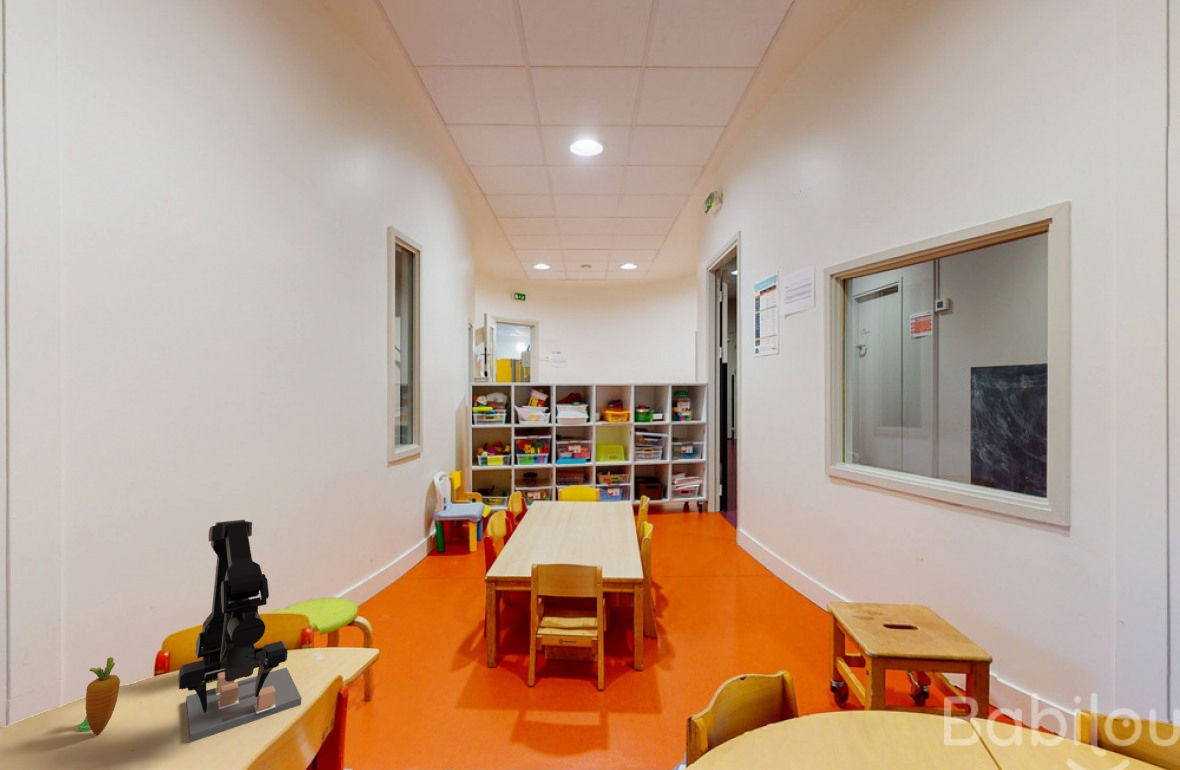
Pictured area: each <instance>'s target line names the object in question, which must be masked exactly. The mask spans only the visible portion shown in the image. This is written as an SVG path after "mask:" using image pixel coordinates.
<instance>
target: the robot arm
mask: <svg viewBox="0 0 1180 770" xmlns="http://www.w3.org/2000/svg"><path fill="white" fill-rule="evenodd" d="M252 534H253V522H252V521H246V520H245V519H237V520H228V521H217V522H215V525H212V526H210V527H209V531H208V542H210V546H211V548H212V550H213V552H214V553H215V555H217V556H216V566H215V577H214V586H213V597H212V604H211V605H212V606H211V612H210V613H209V615H208V616H207V617H206V618H205V620H204V621H203V623H202V627H201V628H202V629H201V632H199V633H198V635H197V639H196V642H195V655H196V658H197V659H200V658H201V659H200V660H197V661H193V662H189V663H185V664H183V665H182V666H181V667H180V668H179V672H178V678H177V679H178V689H179V690H185V689H187V691H195V692H196V693H197V694H198V696H199V698H200V702H201V705H202V708H203V711H204V713H205V712H206V711H207V692H206V690H207V683H209V682H211V681H216V680H217V678H218V673H222V672H225V681H227V682H231V681H234V682H235V680H239V679H242V678H250V676H253V674H254V669H256V668H257V674H256V676H257V680H256V686H255V697H257V696H258V695H259V692H260V690H261V688H262V686H263V684H264V681H265V679H266V678H267V676H268V674H269V673H270V672H272V671H273V669H275V668H277V667H279V666H280V664H282V663H285V662H286V661H287V660H288V647H287V646H286V644H285V643H284V642H283V641H282V640H279V641H275V642H272V643H267V644H264V646H262V647H255V644H256V643H258V642H259V641H260V640H261V639H262V638H263V636H264V634H265V632H266V624H265V622H264V620H263V618H262V616H261V615H260V614H259V607H260V606H261V607H262V606H266V605H267V603H268V602H267V599H269V596H270V593H269V583H268V578H267V577H266V574H265V573H263V571H262V567H261V565H260V564H259V563H257V562H255V561H254V560H253V557H252V552H251V545H250V540H249V539H250V537H252V536H253V535H252ZM259 595H260V596H259ZM258 596H259V597H258ZM196 693H195V694H196Z"/></svg>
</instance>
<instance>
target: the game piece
mask: <svg viewBox="0 0 1180 770" xmlns="http://www.w3.org/2000/svg"><path fill="white" fill-rule="evenodd" d="M78 728H79V729H78V730H79V732H91V731H92V730H91V728H90V726H89V724H88V721H87V715H86V717H85V718H84V720H83V721H82V722H81V723H80V724H79V727H78ZM90 730H91V731H90Z"/></svg>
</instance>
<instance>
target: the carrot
mask: <svg viewBox="0 0 1180 770" xmlns="http://www.w3.org/2000/svg"><path fill="white" fill-rule="evenodd" d="M115 664H116V663H115V662H114V657H111V656H110V657H108V658H107V660H106V667H104V668H102V667H100V666H98V667H97V668H95V667H90V669H89V672H93V673H94V674H95V675H96V676H97V678H96V679H94V680H92V681H91V682H90V683H88V685H87V687H86V694H85V713H86V716H87V721H88V724H89V726H90V728H91V731H92V733H93V734H94V735H95V736H99V735H100V734H101V733H103V731H104V729H105V728H106V727H107V725H108V724H109V722H110V720H111V718H112V715H113V713H114V711H115V707H116V705H117V701H118V696H119V693H120V692H119V691H120V683H121V680H120V678H119V676H118V675H116V674H111V671H112V670H113V668H114V666H115Z"/></svg>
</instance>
